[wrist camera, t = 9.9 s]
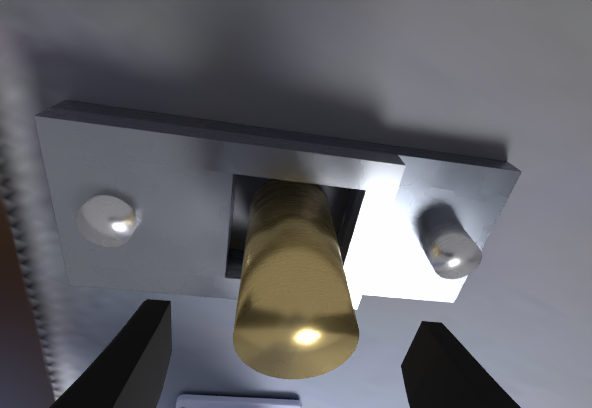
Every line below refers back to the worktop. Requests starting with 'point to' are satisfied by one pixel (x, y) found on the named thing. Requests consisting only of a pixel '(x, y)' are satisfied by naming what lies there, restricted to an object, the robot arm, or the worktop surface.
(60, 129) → the studded plate with cutout
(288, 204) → the brass pin
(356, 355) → the worktop surface
